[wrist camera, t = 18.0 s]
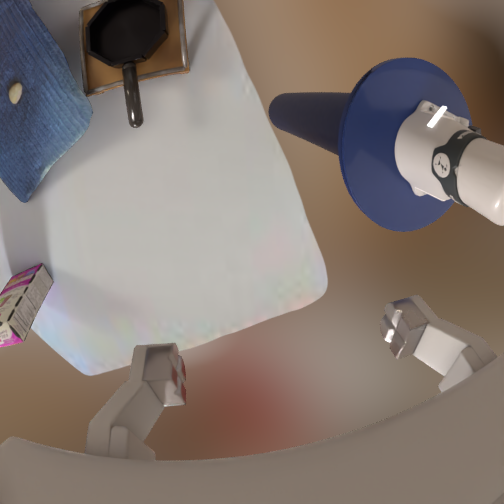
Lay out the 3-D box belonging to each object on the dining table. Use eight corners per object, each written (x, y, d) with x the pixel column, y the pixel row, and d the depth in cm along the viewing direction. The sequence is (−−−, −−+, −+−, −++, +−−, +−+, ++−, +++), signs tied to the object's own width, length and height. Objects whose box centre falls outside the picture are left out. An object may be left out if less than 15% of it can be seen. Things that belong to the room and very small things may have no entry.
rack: (183, -9, 24) (181, -21, 20) (190, 73, 32) (188, 70, 28) (90, 16, 23) (77, 8, 19) (96, 96, 30) (83, 97, 26)
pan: (166, -8, 22) (163, -16, 19) (178, 118, 31) (176, 119, 29) (92, 13, 21) (84, 7, 18) (105, 135, 30) (98, 138, 28)
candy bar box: (23, 294, 44) (-7, 350, 30) (11, 276, 41) (-24, 330, 27) (56, 282, 44) (24, 344, 30) (43, 261, 41) (5, 321, 28)
